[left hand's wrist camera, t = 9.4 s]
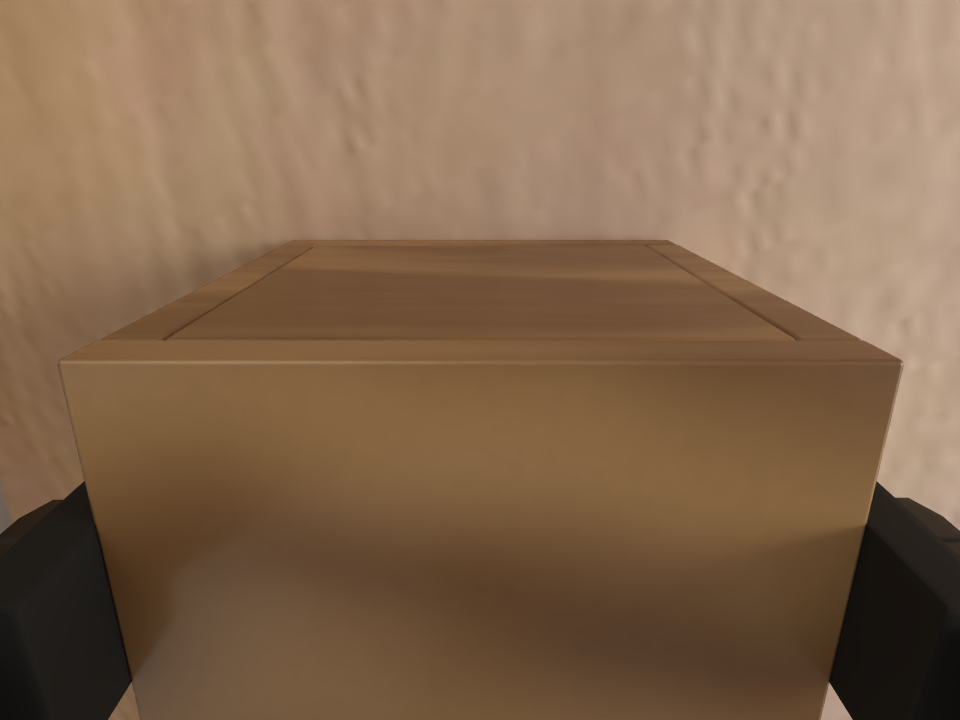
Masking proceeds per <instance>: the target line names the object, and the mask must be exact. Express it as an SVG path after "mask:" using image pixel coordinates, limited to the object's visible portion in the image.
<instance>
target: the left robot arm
mask: <svg viewBox="0 0 960 720" xmlns="http://www.w3.org/2000/svg"><path fill="white" fill-rule="evenodd" d="M131 682H132V680H131V676H130V672H129V668H128V663H127V659H126V655H125V651H124V646H123V642H122V638H121V633H120V629H119V625H118V621H117V616H116V612H115V608H114V604H113V599H112V595H111V591H110V586H109V582H108V578H107V574H106V569H105V565H104V561H103V557H102V552H101V548H100V544H99V539H98V535H97V531H96V527H95V522H94V518H93V514H92V510H91V505H90V501H89V497H88V492H87V488H86V484H85V481H84V482H83V483H82V484H81V485H79V486H78V487H77V488H76V489H75V490H74V491H73V492H72V493H71V494H69V495H68V496H67V497H66V498H65V499H64V500H52V501H50V502H48V503H47V504H45V505H43V506H41V507H39V508H37V509H36V510H34V511H32V512H30V513H28V514H26V515H24V516H23V517H21V518H19V519H18V520H17V521H15V522H14V523H13V524H12V525H11V526H10V527H8V528H7V529H6V530H5V531H4V532H3V533H1V534H0V720H108V719H109V717H110V715H111V714H112V712H113V711H114V709H115V707H116V706H117V704H118V703H119V701H120V699H121V698H122V696H123V695H124V693H125V691H126V690H127V688H128V687H129V685H130V683H131ZM829 682H830V684H831V685H832V687H833V689H834V690H835V692H836V693H837V695H838V697H839V698H840V700H841V701H842V703H843V705H844V706H845V708H846V709H847V711H848V713H849V714H850V716H851V717H852V719H853V720H960V531H959V530H958V529H957V528H956V527H954V526H953V525H952V524H951V523H950V522H949V521H947V520H946V519H945V518H944V517H943V516H941V515H939V514H937V513H935V512H934V511H932V510H930V509H928V508H926V507H924V506H922V505H921V504H919V503H917V502H915V501H913V500H911V499H909V498H895V497H893V496H892V495H891V494H890V493H889V492H888V491H887V490H886V489H885V488H884V487H882V486H881V485H880V484H879V483H878V482H877V481H876V485H875V489H874V493H873V498H872V502H871V506H870V510H869V515H868V519H867V523H866V527H865V532H864V536H863V540H862V544H861V549H860V553H859V557H858V562H857V566H856V570H855V574H854V579H853V583H852V587H851V591H850V596H849V600H848V604H847V609H846V613H845V617H844V621H843V626H842V630H841V634H840V638H839V643H838V647H837V651H836V655H835V660H834V664H833V668H832V673H831V677H830V681H829Z"/></svg>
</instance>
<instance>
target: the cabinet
mask: <svg viewBox="0 0 960 720" xmlns="http://www.w3.org/2000/svg"><path fill="white" fill-rule="evenodd" d="M58 368H59V373H60V377H61V381H62V386H63V390H64V394H65V398H66V403H67V407H68V411H69V415H70V420H71V424H72V428H73V433H74V437H75V441H76V445H77V450H78V454H79V458H80V463H81V467H82V471H83V475H84V480H85V484H86V488H87V492H88V497H89V501H90V505H91V510H92V514H93V518H94V522H95V527H96V531H97V535H98V539H99V544H100V548H101V552H102V557H103V561H104V565H105V569H106V574H107V578H108V582H109V586H110V591H111V595H112V599H113V604H114V608H115V612H116V616H117V621H118V625H119V629H120V633H121V638H122V642H123V646H124V651H125V655H126V659H127V663H128V668H129V672H130V676H131V680H132V685H133V689H134V693H135V698H136V702H137V706H138V710H139V715H140V719H141V720H821V715H822V711H823V707H824V702H825V698H826V694H827V690H828V685H829V681H830V677H831V673H832V668H833V664H834V660H835V655H836V651H837V647H838V643H839V638H840V634H841V630H842V626H843V621H844V617H845V613H846V609H847V604H848V600H849V596H850V591H851V587H852V583H853V579H854V574H855V570H856V566H857V562H858V557H859V553H860V549H861V544H862V540H863V536H864V532H865V527H866V523H867V519H868V515H869V510H870V506H871V502H872V498H873V493H874V489H875V485H876V480H877V476H878V472H879V468H880V463H881V459H882V455H883V451H884V446H885V442H886V438H887V434H888V429H889V425H890V421H891V416H892V412H893V408H894V404H895V399H896V395H897V391H898V387H899V382H900V378H901V374H902V369H903V361H902V360H901V359H899V358H897V357H895V356H893V355H891V354H889V353H887V352H885V351H883V350H881V349H879V348H877V347H875V346H873V345H871V344H869V343H868V342H865V341H861V340H860V339H859V338H857V337H855V336H854V335H852V334H850V333H848V332H846V331H844V330H842V329H840V328H838V327H836V326H834V325H832V324H830V323H828V322H826V321H824V320H822V319H821V318H819V317H817V316H815V315H813V314H811V313H809V312H807V311H805V310H803V309H801V308H799V307H797V306H795V305H793V304H791V303H789V302H788V301H786V300H784V299H782V298H780V297H778V296H776V295H774V294H772V293H770V292H768V291H766V290H764V289H762V288H760V287H758V286H756V285H755V284H753V283H751V282H749V281H747V280H745V279H743V278H741V277H739V276H737V275H735V274H733V273H731V272H729V271H727V270H725V269H724V268H722V267H720V266H718V265H716V264H714V263H712V262H710V261H708V260H706V259H704V258H702V257H700V256H698V255H696V254H694V253H692V252H691V251H689V250H687V249H685V248H683V247H681V246H679V245H676V244H674V243H672V242H670V241H668V240H293V241H291V242H289V243H287V244H285V245H283V246H281V247H279V248H277V249H275V250H273V251H271V252H269V253H267V254H265V255H264V256H262V257H260V258H258V259H256V260H254V261H252V262H250V263H248V264H246V265H244V266H242V267H240V268H238V269H236V270H234V271H233V272H231V273H229V274H227V275H225V276H223V277H221V278H219V279H217V280H215V281H213V282H211V283H209V284H207V285H205V286H203V287H202V288H200V289H198V290H196V291H194V292H192V293H190V294H188V295H186V296H184V297H182V298H180V299H178V300H176V301H174V302H172V303H171V304H169V305H167V306H165V307H163V308H161V309H159V310H157V311H155V312H153V313H151V314H149V315H147V316H145V317H143V318H141V319H140V320H138V321H136V322H134V323H132V324H130V325H128V326H126V327H124V328H122V329H120V330H118V331H116V332H114V333H112V334H111V335H109V336H107V337H105V338H103V339H102V340H98V341H96V342H93V343H92V344H90V345H88V346H86V347H84V348H82V349H80V350H78V351H76V352H74V353H72V354H70V355H68V356H66V357H64V358H62V359H60V360H59V361H58Z"/></svg>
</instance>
